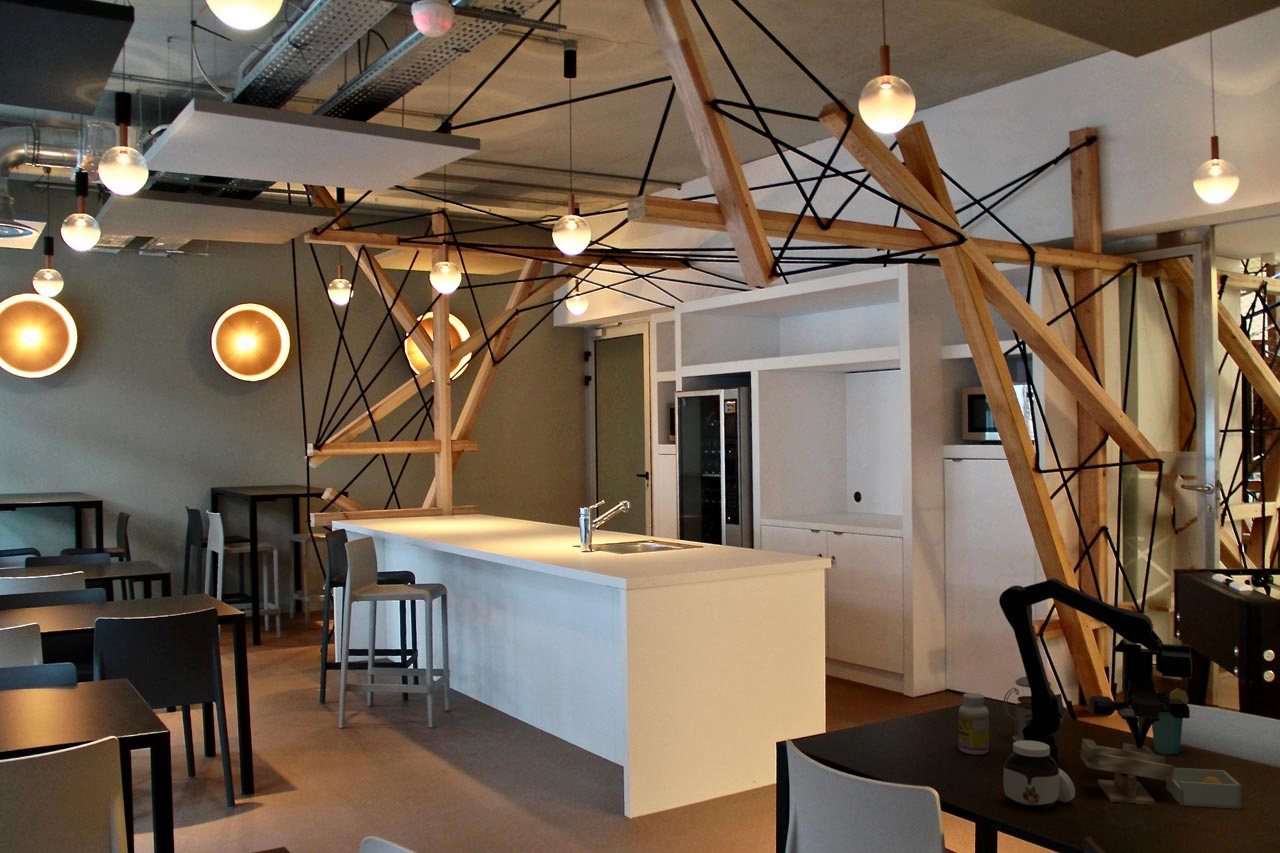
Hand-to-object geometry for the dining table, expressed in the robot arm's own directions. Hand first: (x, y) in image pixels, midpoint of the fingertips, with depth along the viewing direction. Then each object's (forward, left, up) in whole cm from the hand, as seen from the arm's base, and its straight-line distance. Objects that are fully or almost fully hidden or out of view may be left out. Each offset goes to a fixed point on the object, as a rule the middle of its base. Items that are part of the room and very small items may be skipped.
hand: (1139, 747), depth 230 cm
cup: (+11, +22, -7) cm, 25 cm away
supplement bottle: (-32, +14, -7) cm, 36 cm away
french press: (-18, +26, -7) cm, 32 cm away
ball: (+11, -11, -4) cm, 16 cm away
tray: (+9, -11, -7) cm, 16 cm away
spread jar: (-23, -20, -7) cm, 31 cm away
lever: (-5, -6, -2) cm, 8 cm away
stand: (-5, -11, -7) cm, 14 cm away
